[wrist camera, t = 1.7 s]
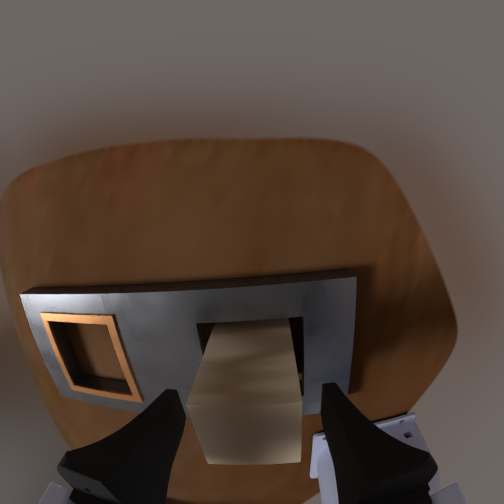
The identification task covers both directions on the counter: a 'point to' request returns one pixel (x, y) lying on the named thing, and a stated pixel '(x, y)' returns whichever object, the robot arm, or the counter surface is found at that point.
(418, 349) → the counter surface
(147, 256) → the counter surface
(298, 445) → the peg
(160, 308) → the grey board with holes
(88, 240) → the counter surface
